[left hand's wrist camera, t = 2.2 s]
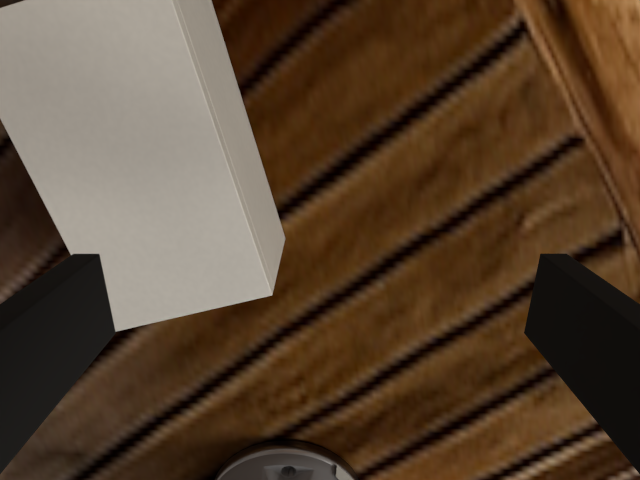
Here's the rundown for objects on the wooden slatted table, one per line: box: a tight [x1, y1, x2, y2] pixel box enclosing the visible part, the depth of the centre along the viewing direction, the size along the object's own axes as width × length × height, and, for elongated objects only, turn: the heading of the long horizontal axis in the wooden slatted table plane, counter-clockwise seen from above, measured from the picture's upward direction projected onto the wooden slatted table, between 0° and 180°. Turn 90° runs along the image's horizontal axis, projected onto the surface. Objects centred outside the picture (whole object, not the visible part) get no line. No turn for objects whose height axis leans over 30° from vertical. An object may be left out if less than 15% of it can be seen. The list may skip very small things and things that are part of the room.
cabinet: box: [0, 0, 285, 332], centre depth 25 cm, size 17×10×9 cm, turn 15°
